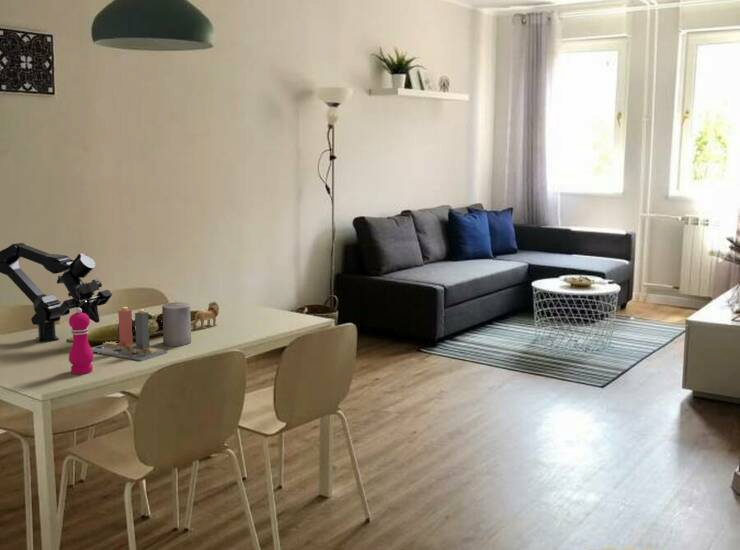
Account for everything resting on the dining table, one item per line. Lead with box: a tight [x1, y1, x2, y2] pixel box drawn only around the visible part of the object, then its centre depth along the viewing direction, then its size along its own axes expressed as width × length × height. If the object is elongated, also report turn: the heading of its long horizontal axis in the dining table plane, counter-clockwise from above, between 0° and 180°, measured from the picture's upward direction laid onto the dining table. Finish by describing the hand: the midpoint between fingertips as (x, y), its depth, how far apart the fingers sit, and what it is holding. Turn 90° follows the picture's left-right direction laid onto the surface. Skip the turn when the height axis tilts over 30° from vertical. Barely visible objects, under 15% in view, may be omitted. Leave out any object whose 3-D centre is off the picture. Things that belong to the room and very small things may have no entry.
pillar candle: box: [161, 301, 192, 347], centre depth 285 cm, size 10×10×15 cm
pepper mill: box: [68, 308, 95, 375], centre depth 247 cm, size 7×7×20 cm
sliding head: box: [116, 306, 134, 350], centre depth 272 cm, size 3×5×14 cm, turn 151°
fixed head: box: [133, 309, 150, 353], centre depth 268 cm, size 3×5×14 cm, turn 151°
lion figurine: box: [192, 301, 220, 331], centre depth 310 cm, size 15×5×9 cm, turn 157°
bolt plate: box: [91, 341, 168, 362], centre depth 272 cm, size 24×12×2 cm, turn 61°
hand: (98, 321), depth 278 cm, fingers closed
